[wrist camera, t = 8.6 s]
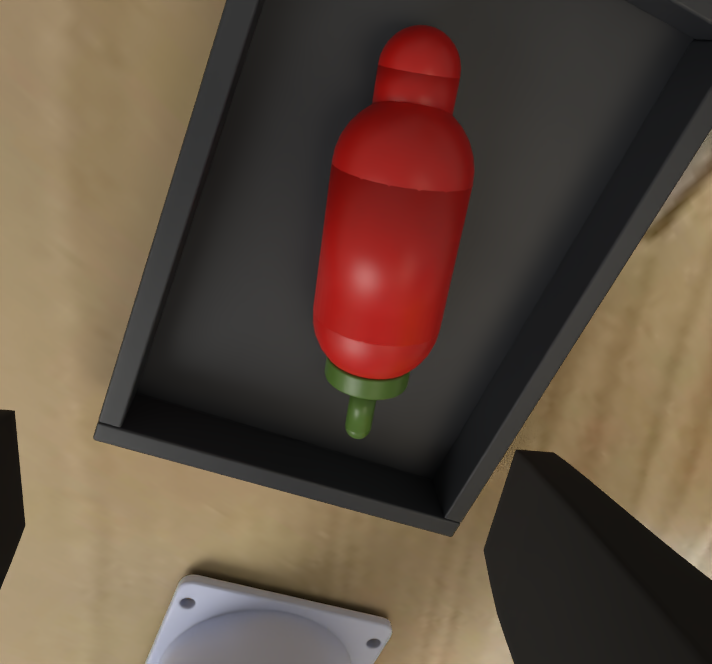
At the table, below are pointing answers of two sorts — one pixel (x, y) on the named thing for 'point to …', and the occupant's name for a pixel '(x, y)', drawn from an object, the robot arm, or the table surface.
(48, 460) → the table surface
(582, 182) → the tray
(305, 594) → the table surface
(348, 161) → the chili
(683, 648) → the robot arm
